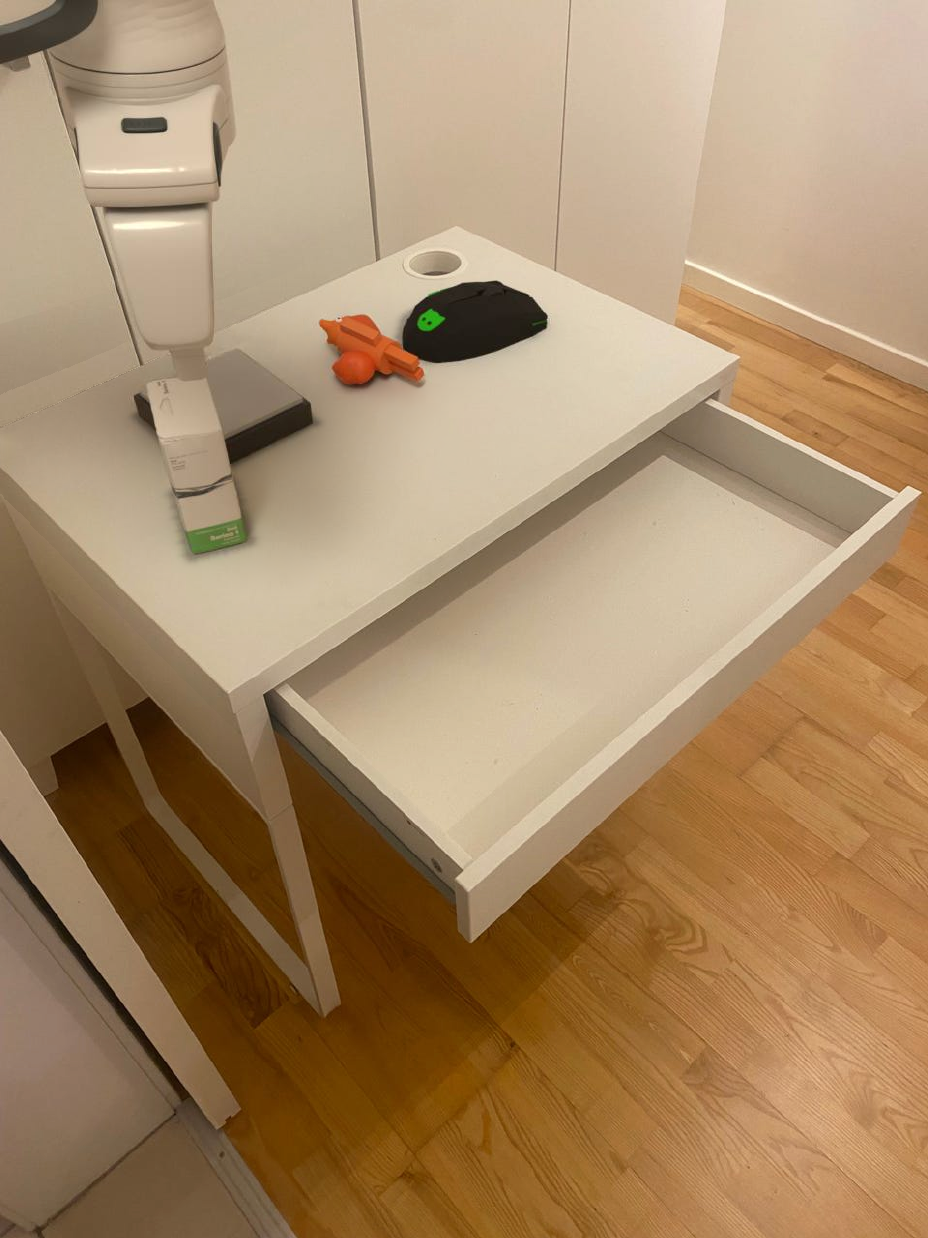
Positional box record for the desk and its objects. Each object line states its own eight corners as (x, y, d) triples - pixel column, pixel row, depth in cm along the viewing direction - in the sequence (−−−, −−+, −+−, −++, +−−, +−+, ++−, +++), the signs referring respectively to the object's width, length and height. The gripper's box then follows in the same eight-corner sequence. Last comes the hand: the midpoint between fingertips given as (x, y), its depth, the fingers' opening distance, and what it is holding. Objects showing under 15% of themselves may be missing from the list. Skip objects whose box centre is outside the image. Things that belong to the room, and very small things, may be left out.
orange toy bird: (428, 333, 93) (337, 291, 98) (381, 387, 91) (290, 342, 96) (439, 368, 97) (351, 327, 102) (394, 420, 95) (307, 376, 100)
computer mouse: (375, 325, 104) (373, 291, 101) (495, 281, 111) (496, 248, 108) (435, 375, 98) (435, 341, 95) (558, 325, 105) (562, 292, 102)
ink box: (248, 543, 81) (225, 429, 72) (189, 556, 80) (158, 443, 71) (229, 480, 87) (205, 367, 78) (173, 492, 85) (142, 379, 77)
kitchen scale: (206, 476, 87) (200, 449, 85) (138, 415, 93) (131, 389, 90) (313, 423, 92) (310, 397, 90) (243, 369, 98) (238, 343, 96)
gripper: (94, 35, 57) (140, 254, 68) (78, 190, 44) (138, 431, 55) (202, 34, 59) (231, 249, 69) (217, 184, 45) (250, 422, 56)
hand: (190, 331), depth 62 cm, fingers open, 8 cm apart
